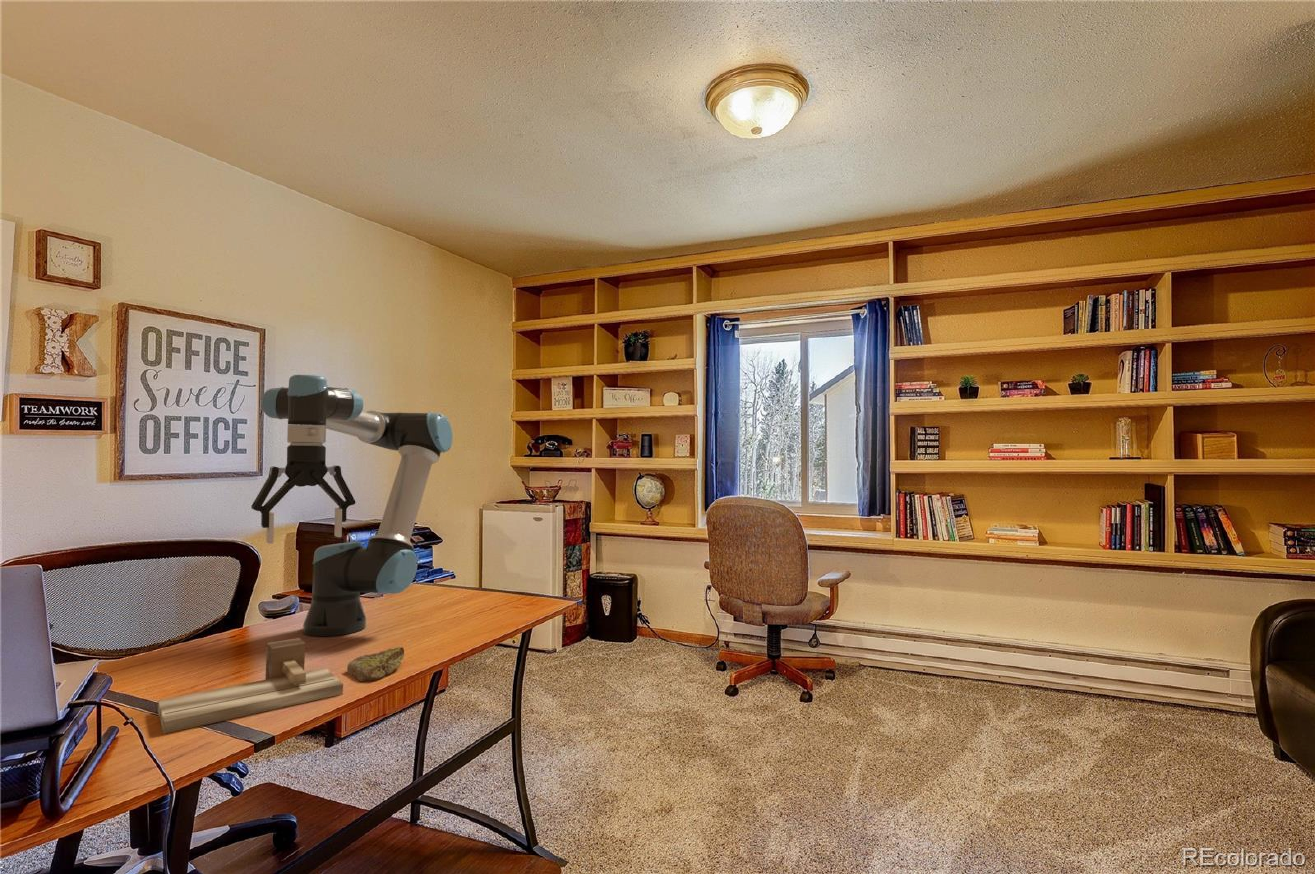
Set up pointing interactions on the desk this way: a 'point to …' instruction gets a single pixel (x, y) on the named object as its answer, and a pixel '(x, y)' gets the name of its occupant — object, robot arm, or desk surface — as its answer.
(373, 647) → the desk surface
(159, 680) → the desk surface
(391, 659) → the rock
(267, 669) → the brown blocky t-shaped piece
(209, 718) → the board
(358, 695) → the desk surface
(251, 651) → the desk surface
